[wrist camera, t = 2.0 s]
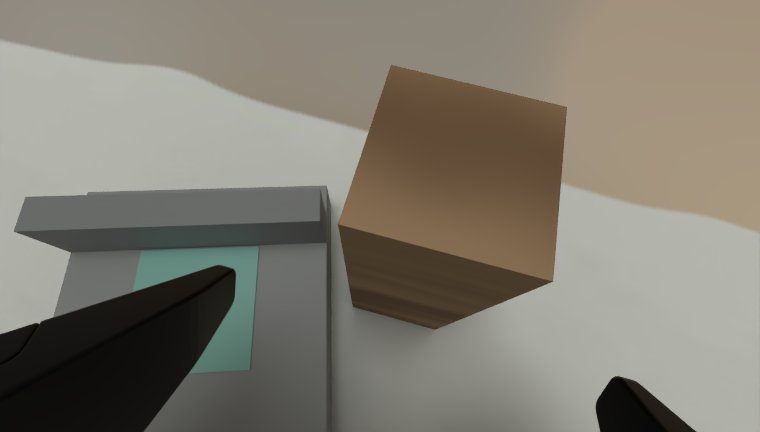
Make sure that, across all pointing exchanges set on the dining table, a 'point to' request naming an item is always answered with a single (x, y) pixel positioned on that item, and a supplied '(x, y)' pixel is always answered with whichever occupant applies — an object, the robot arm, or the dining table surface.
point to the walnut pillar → (452, 200)
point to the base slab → (252, 292)
